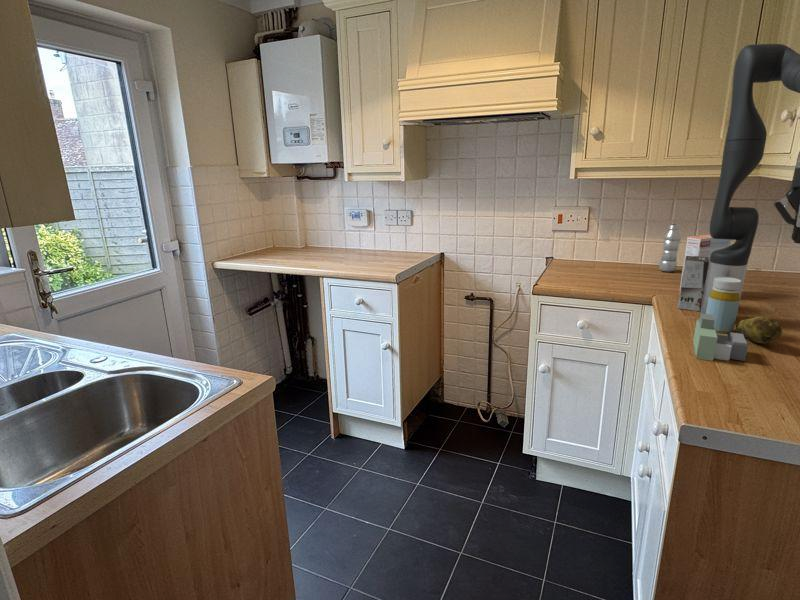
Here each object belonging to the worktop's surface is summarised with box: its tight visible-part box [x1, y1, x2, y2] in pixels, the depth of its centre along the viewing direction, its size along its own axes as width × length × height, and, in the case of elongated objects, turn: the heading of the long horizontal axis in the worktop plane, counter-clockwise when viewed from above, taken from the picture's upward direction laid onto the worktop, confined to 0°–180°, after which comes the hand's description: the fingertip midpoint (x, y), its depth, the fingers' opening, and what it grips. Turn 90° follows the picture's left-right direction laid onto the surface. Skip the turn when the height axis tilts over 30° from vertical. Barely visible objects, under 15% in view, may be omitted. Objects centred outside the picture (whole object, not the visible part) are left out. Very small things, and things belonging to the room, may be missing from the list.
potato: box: [735, 316, 783, 344], centre depth 123 cm, size 8×13×8 cm, turn 154°
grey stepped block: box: [717, 332, 749, 362], centre depth 117 cm, size 8×6×4 cm
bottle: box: [706, 277, 741, 336], centre depth 131 cm, size 7×7×15 cm
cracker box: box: [679, 234, 731, 295], centre depth 166 cm, size 14×6×21 cm, turn 108°
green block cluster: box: [692, 313, 732, 362], centre depth 118 cm, size 13×7×8 cm, turn 152°
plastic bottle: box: [658, 223, 682, 273], centre depth 199 cm, size 6×7×20 cm
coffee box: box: [677, 256, 709, 312], centre depth 153 cm, size 9×6×16 cm
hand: (798, 242), depth 110 cm, fingers closed
